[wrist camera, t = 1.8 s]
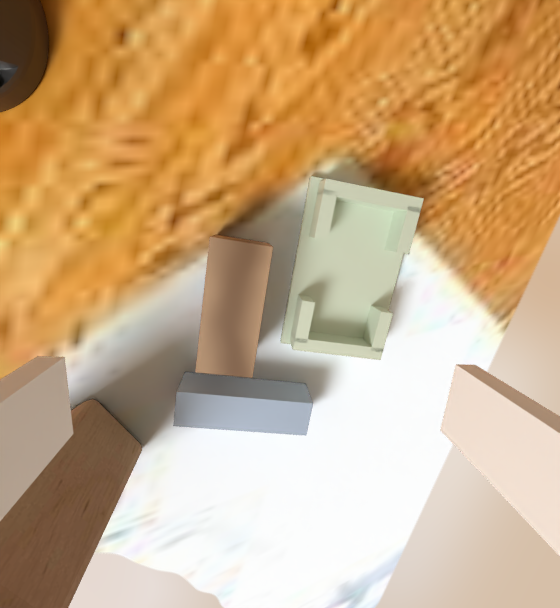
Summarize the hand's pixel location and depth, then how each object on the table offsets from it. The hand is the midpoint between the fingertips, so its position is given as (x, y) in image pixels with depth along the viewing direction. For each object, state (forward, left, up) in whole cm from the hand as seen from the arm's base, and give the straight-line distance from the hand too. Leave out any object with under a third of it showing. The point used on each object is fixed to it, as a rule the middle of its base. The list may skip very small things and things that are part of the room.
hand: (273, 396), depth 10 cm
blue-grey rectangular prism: (+1, -16, -27) cm, 32 cm away
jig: (+11, +2, -27) cm, 29 cm away
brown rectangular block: (-2, -3, -27) cm, 27 cm away
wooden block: (-18, -25, -27) cm, 41 cm away
